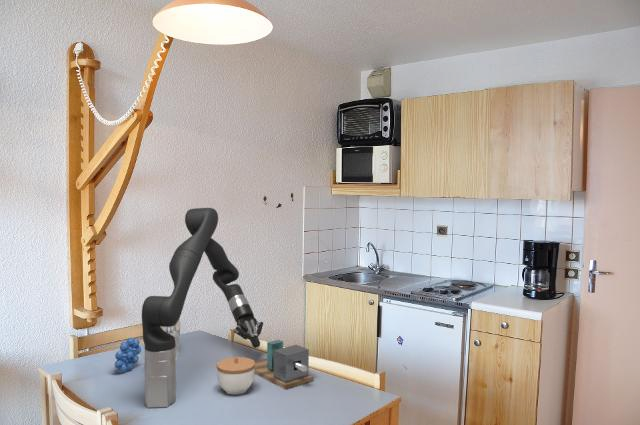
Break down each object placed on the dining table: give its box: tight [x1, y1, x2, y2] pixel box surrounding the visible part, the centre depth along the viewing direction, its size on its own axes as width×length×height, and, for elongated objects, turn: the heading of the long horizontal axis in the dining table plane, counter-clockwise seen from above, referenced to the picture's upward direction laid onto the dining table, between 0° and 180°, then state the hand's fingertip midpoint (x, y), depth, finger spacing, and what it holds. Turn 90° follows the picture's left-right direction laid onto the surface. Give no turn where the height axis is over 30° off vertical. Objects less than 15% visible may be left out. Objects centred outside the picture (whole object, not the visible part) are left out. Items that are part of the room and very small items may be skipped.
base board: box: [254, 357, 314, 390], centre depth 179 cm, size 26×12×2 cm, turn 41°
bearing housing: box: [274, 344, 310, 383], centre depth 173 cm, size 7×10×10 cm
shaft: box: [266, 339, 309, 372], centre depth 174 cm, size 19×5×10 cm, turn 41°
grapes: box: [114, 337, 142, 374], centre depth 181 cm, size 12×7×12 cm, turn 154°
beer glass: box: [161, 318, 181, 357], centre depth 198 cm, size 7×7×15 cm
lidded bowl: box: [216, 356, 256, 396], centre depth 164 cm, size 13×13×11 cm
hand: (257, 346), depth 189 cm, fingers closed
